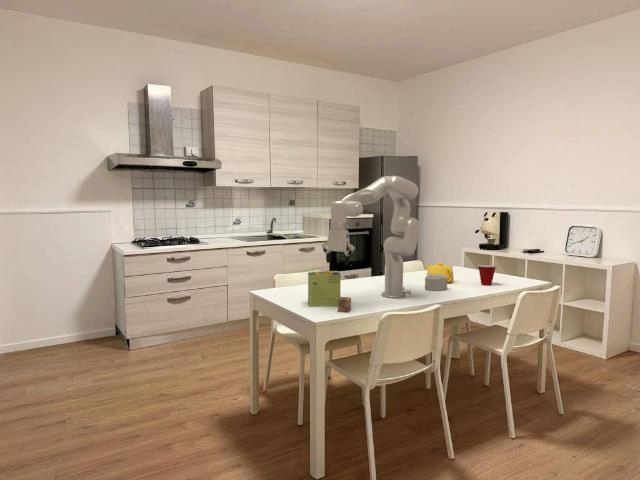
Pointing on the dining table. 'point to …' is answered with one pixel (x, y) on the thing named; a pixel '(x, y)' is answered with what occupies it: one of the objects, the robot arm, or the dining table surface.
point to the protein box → (323, 288)
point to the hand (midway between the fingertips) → (337, 263)
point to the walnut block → (344, 304)
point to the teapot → (441, 271)
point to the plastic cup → (486, 274)
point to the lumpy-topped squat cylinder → (435, 282)
